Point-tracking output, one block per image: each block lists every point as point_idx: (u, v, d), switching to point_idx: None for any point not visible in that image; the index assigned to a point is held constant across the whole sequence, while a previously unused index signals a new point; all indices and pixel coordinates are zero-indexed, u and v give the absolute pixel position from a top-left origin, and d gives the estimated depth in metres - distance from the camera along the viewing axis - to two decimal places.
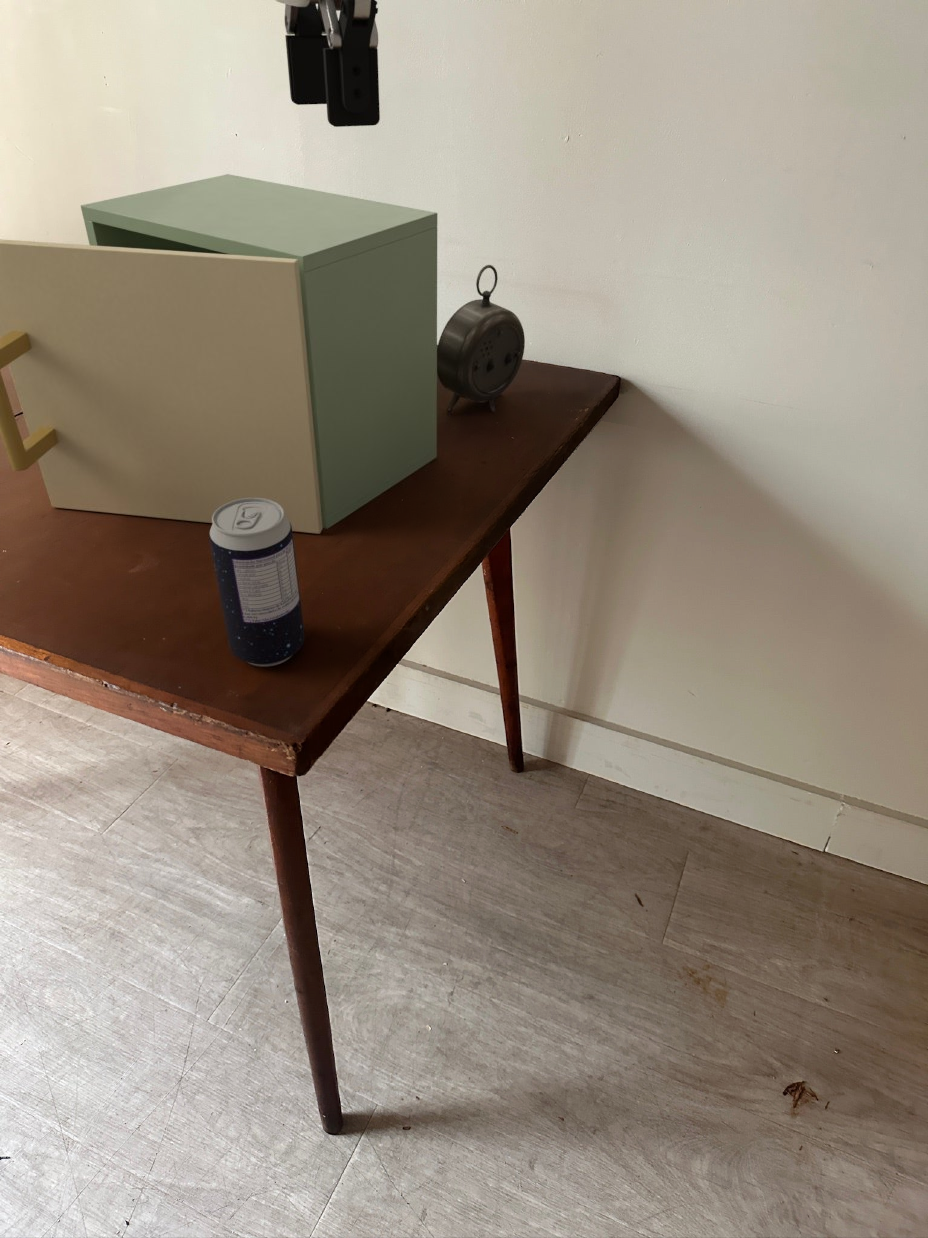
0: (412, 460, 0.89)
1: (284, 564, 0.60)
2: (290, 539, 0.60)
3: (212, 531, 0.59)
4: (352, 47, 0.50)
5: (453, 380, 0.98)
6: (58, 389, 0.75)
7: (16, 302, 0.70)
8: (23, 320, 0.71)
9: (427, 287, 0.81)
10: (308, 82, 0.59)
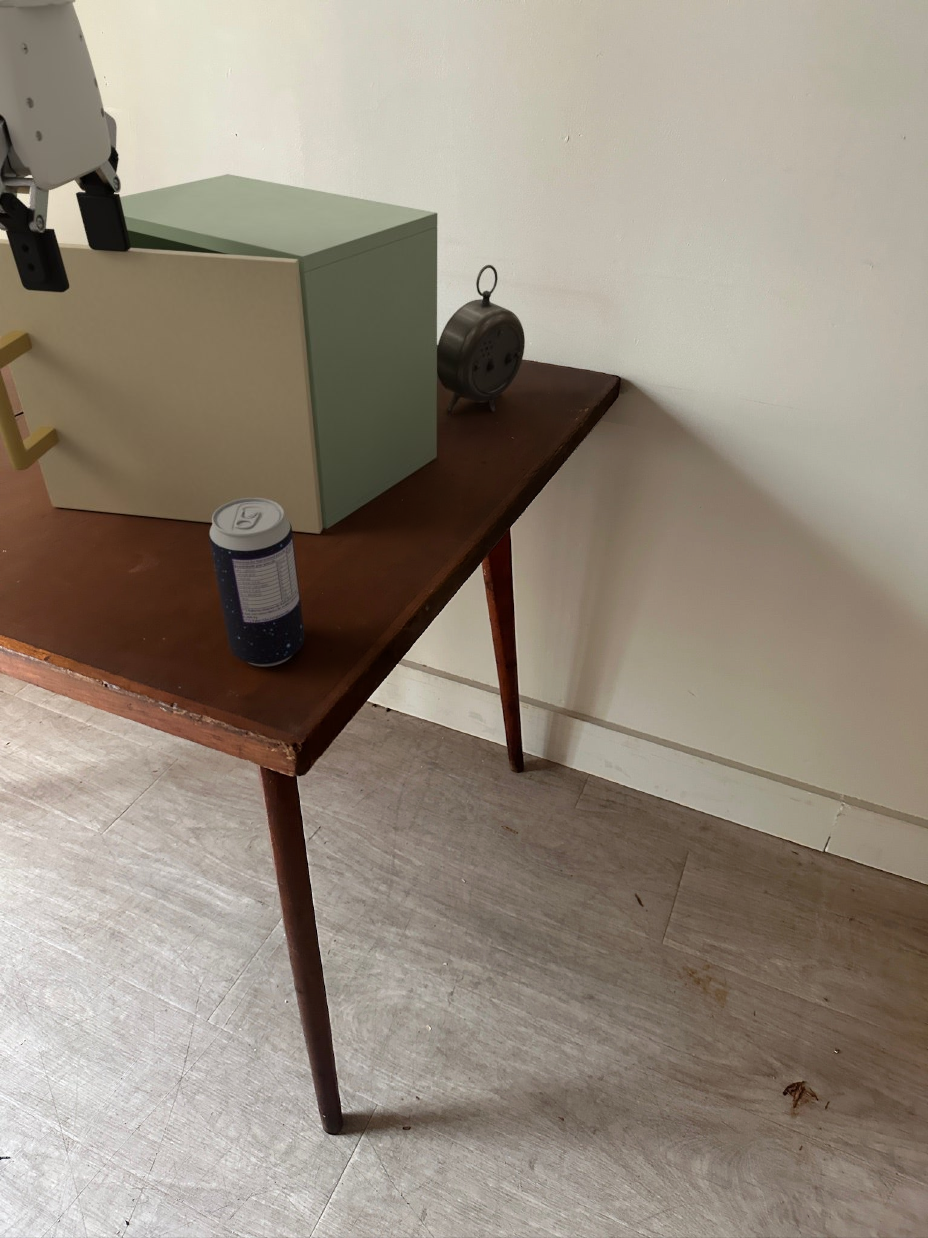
0: (412, 460, 0.89)
1: (284, 564, 0.60)
2: (290, 539, 0.60)
3: (211, 531, 0.59)
4: (16, 231, 0.56)
5: (453, 380, 0.98)
6: (58, 389, 0.75)
7: (17, 301, 0.70)
8: (23, 320, 0.71)
9: (427, 287, 0.81)
10: (98, 233, 0.65)
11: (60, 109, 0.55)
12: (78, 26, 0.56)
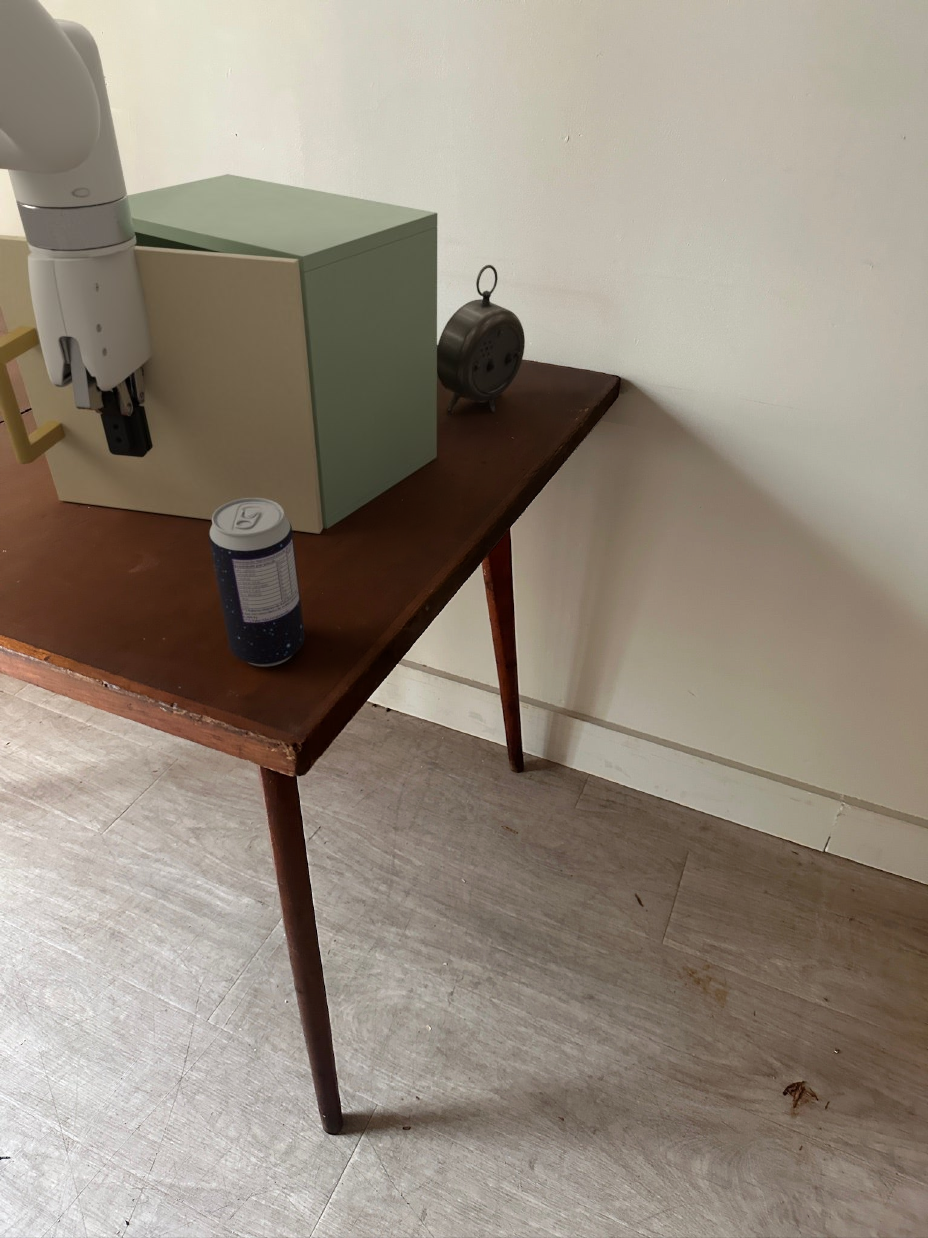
0: (412, 460, 0.89)
1: (284, 564, 0.60)
2: (290, 539, 0.60)
3: (211, 531, 0.59)
4: (110, 414, 0.71)
5: (453, 380, 0.98)
6: None
7: (24, 297, 0.71)
8: (31, 315, 0.72)
9: (427, 287, 0.81)
10: None
11: (121, 326, 0.66)
12: None
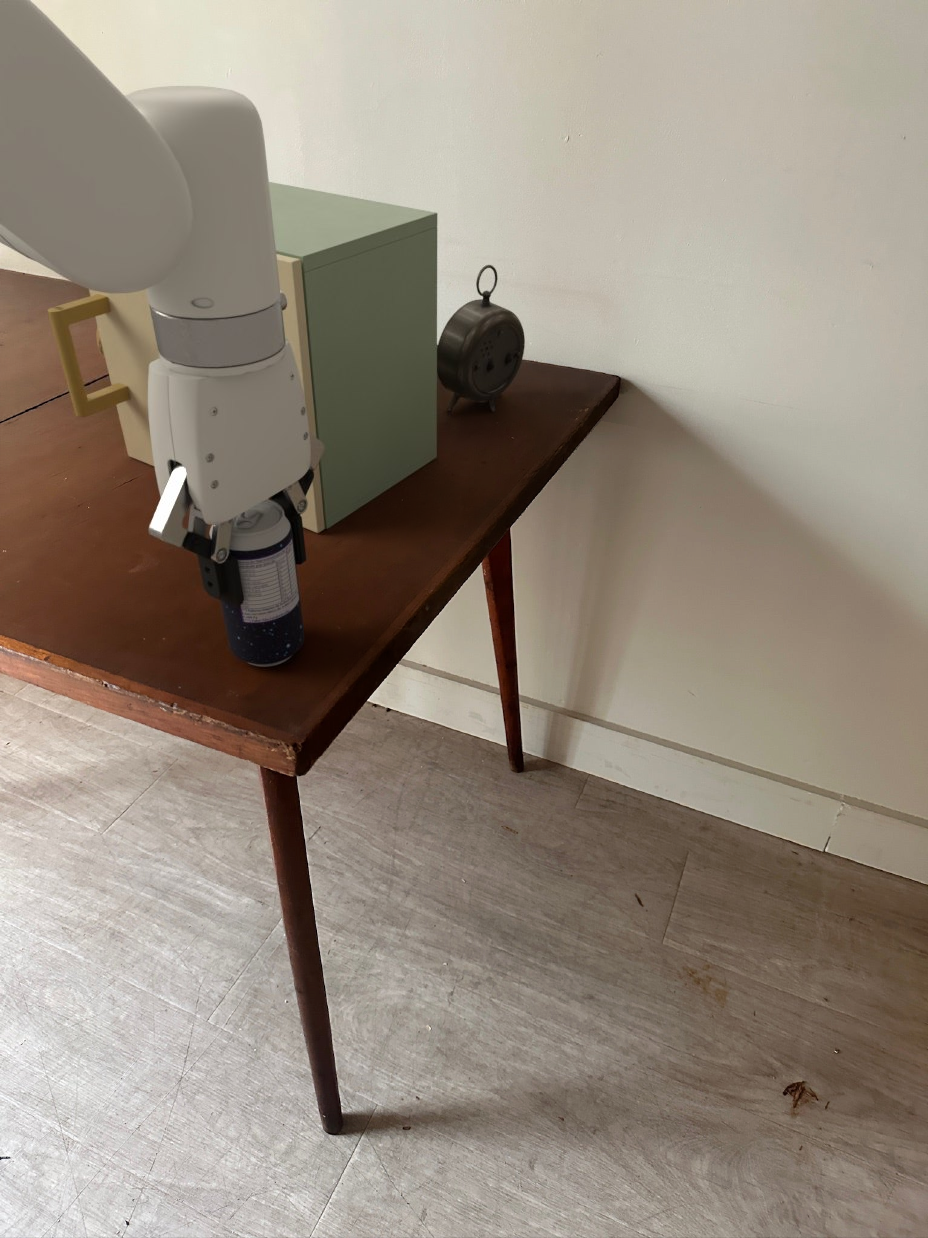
0: (412, 460, 0.89)
1: (283, 564, 0.60)
2: (290, 539, 0.60)
3: (211, 531, 0.59)
4: (201, 556, 0.57)
5: (453, 380, 0.98)
6: (129, 351, 0.82)
7: None
8: None
9: (427, 287, 0.81)
10: None
11: (247, 454, 0.54)
12: (291, 367, 0.55)
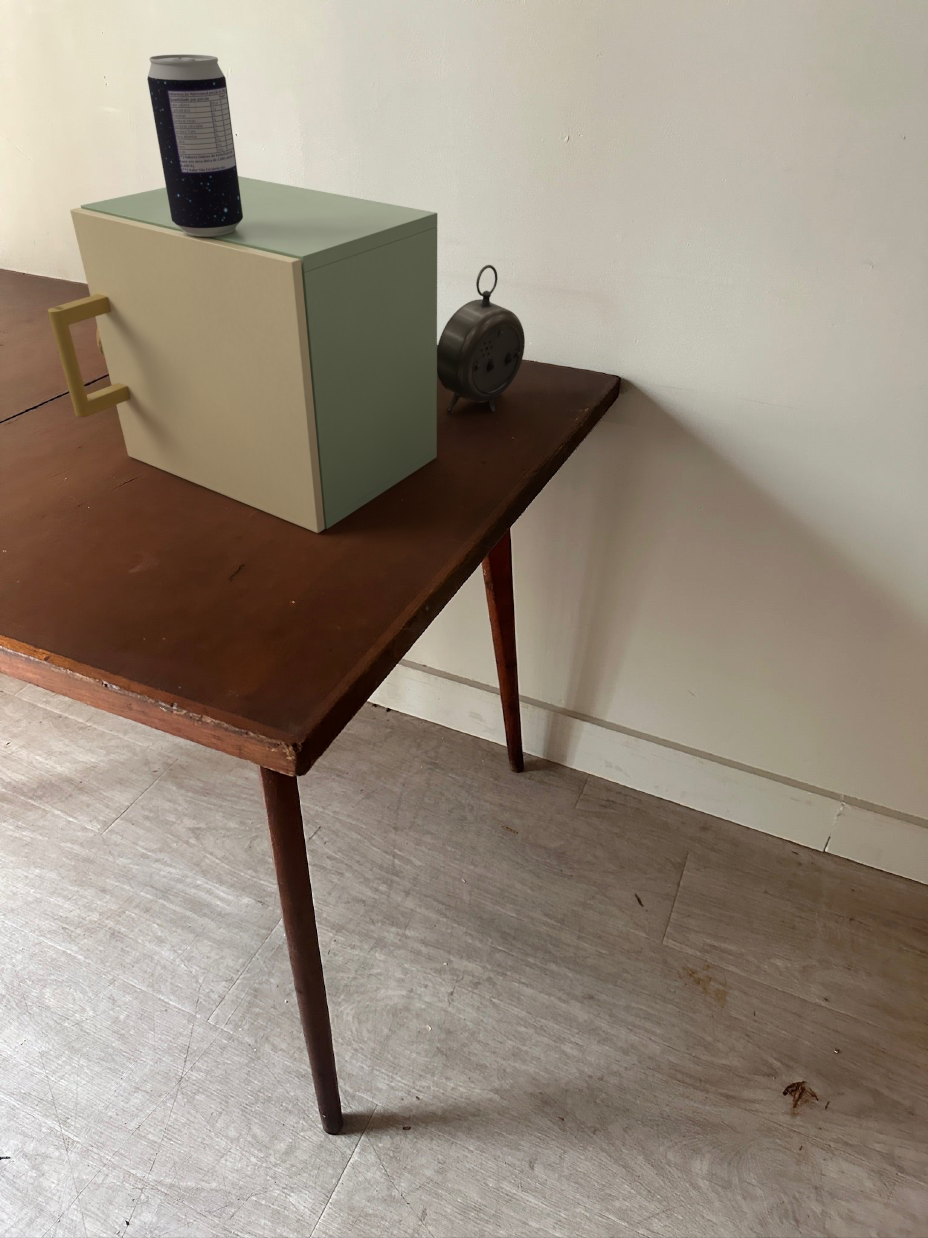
0: (412, 460, 0.89)
1: (217, 107, 0.65)
2: (223, 85, 0.65)
3: (149, 70, 0.64)
4: None
5: (453, 380, 0.98)
6: (129, 351, 0.82)
7: (100, 268, 0.78)
8: (104, 285, 0.79)
9: (427, 287, 0.81)
10: None
11: None
12: None
